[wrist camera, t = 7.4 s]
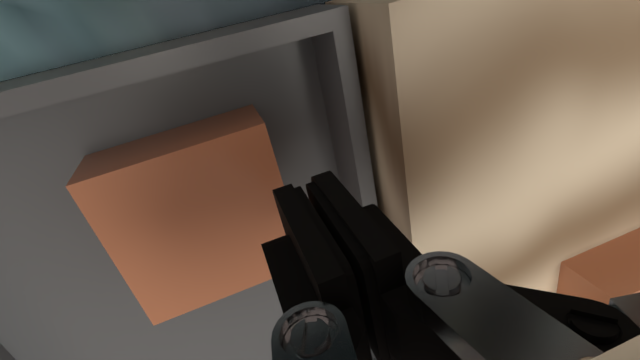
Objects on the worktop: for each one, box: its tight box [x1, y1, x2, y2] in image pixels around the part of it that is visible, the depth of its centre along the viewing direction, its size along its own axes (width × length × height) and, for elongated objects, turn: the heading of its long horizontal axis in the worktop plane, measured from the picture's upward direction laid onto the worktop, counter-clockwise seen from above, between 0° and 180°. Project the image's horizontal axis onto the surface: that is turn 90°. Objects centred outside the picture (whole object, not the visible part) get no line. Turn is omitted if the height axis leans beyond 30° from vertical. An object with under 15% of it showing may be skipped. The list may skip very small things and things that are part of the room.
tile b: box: [556, 228, 640, 305], centre depth 18 cm, size 6×6×2 cm
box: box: [0, 4, 378, 360], centre depth 16 cm, size 20×16×3 cm
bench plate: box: [325, 0, 640, 293], centre depth 18 cm, size 20×16×5 cm
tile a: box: [65, 104, 286, 326], centre depth 14 cm, size 6×6×2 cm
